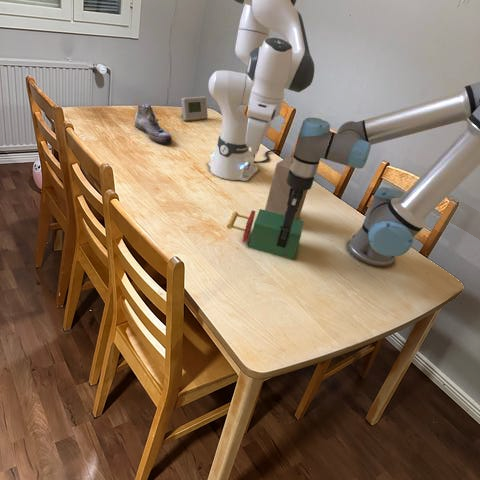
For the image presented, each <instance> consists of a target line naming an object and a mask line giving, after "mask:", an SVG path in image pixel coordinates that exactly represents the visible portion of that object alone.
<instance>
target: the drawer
mask: <svg viewBox="0 0 480 480" xmlns="http://www.w3.org/2000/svg"><path fill="white" fill-rule="evenodd" d="M255 215H256V211H255V210H251V211H250V214H249V216H246V215H242V214H239V213H238V211H233V212H232V214H231V215H230V219H229V220H228V222H227V224H226V228H227V229H228V230H231V229H235V230H238V231H242V232H244V233H243V237H242V243H247V241H248V239H249V237H250V234H251V231H252V229H253V228H252V227H253V225H254V221H255ZM238 217H239V218H242V219H246V220H247V221H246V223H245V227H244V228H243V227H240V226H236V225H234V224H235V223H236V220H237V218H238Z"/></svg>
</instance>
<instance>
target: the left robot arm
mask: <svg viewBox="0 0 480 480" xmlns="http://www.w3.org/2000/svg"><path fill="white" fill-rule="evenodd" d="M234 2H236V3H238V4H241V5H243V4H244V5H243V10H242V12H241V16H240V18H239V24H238V30H237V35H236V41H235V47H234V53H235V55H236V57H237V58H238V60H240V61H241V62H242V63H243V64H244V65H246V71H245V73H243V72H238V71H235V70H234V71H233V70H230V69H229V70H226V69H224V70H223V69H221V70H215V71H214V72H213V73H212V74H211V75H210V77H209V80H208V85H207V86H208V92H209V94H210V96H211V97H212V98H213V100H215V102H216V104H217V105H218V107H219V109H220V113H221V127H220V135H219V136H218V139H217V145H216V146H215V147H214V149H213V153H212V154H210V158H211V160H209V161H208V164H207V165H208V166H209V170H210V172H211V173H212V174H213V175H215V176H216V177H218V178H220V179H225V180H229V181H242V182H247V181H249V179H251V177H253V176H254V175H255V174H256V173H257V172H258V171H259V166H257V165H255V164H258V163H261V164H263V163H266V162H268V161H269V159H270V157H269V155H268V154H269V153H271V152H278V153H279V154H281V153H282V152H281V150H279V149H276V148H275V149H270V150H267V151H265V157H266V159H263V160H260V161H255V159H256V156H257V154H258V152H260V151H259V150H260V146H261V145H262V143H263V142H264V141H263V140H264V139H265V137H266V135H267V133H268V131H269V130H270V127H271V125H272V124H271V123H272V121H274V119H275V118H276V117H278V116H280V114H281V111H282V105H283V102H284V99H285V89H286V90H288V91H292V92H295V93H301V92H302V91H305V90H306V89H307V88H308V87H310V86H311V85H312V84H313V80H314V78H315V77H314V76H315V62H314V59H313V57H312V55H311V52H310V47H309V43H308V38H307V35H306V28H305V24H304V21H303V17H302V15H301V13H300V11H298V10H297V9H296V7H295V5H296V4H297V2H298V0H234ZM271 31H273V32H275V33H278V34H280V35H281V36H282V37H284V38H285V39H286V40H287V41H286V40H284V39H282V38H279V37H270V33H271ZM239 106H246V107H247V111H246V114H245V113H243V112H242V111H241V110H240V109H239ZM250 148H251V149H250Z"/></svg>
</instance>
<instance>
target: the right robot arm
mask: <svg viewBox="0 0 480 480" xmlns="http://www.w3.org/2000/svg"><path fill="white" fill-rule="evenodd" d="M464 121H465V122H466V129H464V131H463V132H461V134H460V135H459V136H458V137H457V138H456V139H455V140H454V141H453V142H452V143H451V144H450V145H449V147H447V149H446V150H444V152H443V153H442V154H441V155H440V156H439V157H438V158H437V159H436V160H434V162H433V163H432V164H431V165H430V166H429V167H428V169H426V170H425V172H424V173H423V174H422V175H421V176H420V177H419V178H418V179H417V180H416V181H415V182H414V183H413V184H412V185H411V186H410V187H409V188H408V189H407V190H406V192H404V191H402V190H399V189H396V188H392V187H387V186H386V187H385V186H382V187H379V188H377V189H376V190H375V193H374V194H373V197H372V201H371V203H370V205H369V208H368V210H367V213H366V215H365V218H364V220H363V222H362V226H361V227H360V228H359V229H358V231H357V232H356V233H355V234H353V235H352V237H351V238H350V240H349V243H348V245H347V246H348V250H349V252H350V253H351V255H352V256H353V257H355V258H356V259H357V260H359V261H361V262H362V263H365V264H367V265H370V266H373V267H379V268H384V267H389V266H391V265H392V264H393V263H394V262H395V261H394V260H395V259H396V257H400V256H403V255H405V254H406V253H407V252H409V250H410V249H411V248H412V246H413V243H414V238H415V237H416V235H418V234H419V233H420V232H421V231H422V230H423V229H424V228H425V227H426V218H427V217H428V216H429V215H430V214H432V212H433V211H434V210H435V209H436V208H437V207H438V206H440V205H441V203H443V201H444V200H446V199H447V198H448V197H449V196H450V195H451V194H452V193H453V192H454V191H456V190H457V188H458V187H459V186H460V185H461V184H462V183H464V182H465V180H466V179H467V178H468V177H470V175H472V174H473V172H474V171H475V170H477V169H478V168H479V166H480V81H478V82H475V83H472V84H468V85H465V86H462V87H461V89H460V90H459V91H458V92H455V93H452V94H448V95H445V96H442V97H437V98H434V99H431V100H428V101H425V102H421V103H418V104H414V105H411V106H407V107H404V108H401V109H397V110H393V111H390V112H386V113H383V114H379V115H376V116H373V117H369V118H366V119H363V120H359V121H354V120H349V121H346V122H344V123H342V124H341V125H340V127H339V128H338V129H337V132H334V131H333V130H332V131H331V124H330V122H328V121H326V120H324V119H322V118H318V117H307V118H305V119H304V120H303V121H302V124H301V127H300V129H299V133H298V136H297V140H296V144H295V148H294V151H293V156H292V158H293V159H290V162H292V163H291V166H290V170H289V173H288V176H287V180H286V182H287V184H288V185H289V186H290V187H292V188H291V189H290V192H289V199H288V202H287V206H288V207H287V211H286V213H285V219H284V223H283V226H280V228H281V232H280V235H279V238H278V242H277V246H279V247H283V248H285V247H286V244H287V240H288V237H289V234H290V231H291V226H292V223H293V219H294V216H295V212H297V208H298V207H299V203H300V200H301V199H302V196H303V190H305V191H306V190H308V191H310V190H312V187H313V183H314V180H315V176H316V175H317V171H318V168H319V164H320V162H321V161H320V160H321V159H323V160H326V161H329V162H333V163H337V164H339V165H343V166H347V167H348V168H353V169H354V168H355V169H363V168H364V167H365V166H366V164H367V162H368V158H369V155H370V152H371V149H372V146H373V145H376V144H380V143H384V142H388V141H392V140H396V139H399V138H403V137H407V136H411V135H414V134H418V133H422V132H426V131H429V130H432V129H437V128H440V127H444V126H448V125H452V124H457V123H460V122H464Z"/></svg>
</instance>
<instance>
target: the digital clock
mask: <svg viewBox="0 0 480 480" xmlns="http://www.w3.org/2000/svg"><path fill="white" fill-rule="evenodd" d="M207 101H208V100H207V97H206V95H205V96H204V95H203V96H199V95H198V96H197V95H196V96H187V97H182V98H181V99H180V103H181V117H182V120H183V121H189V122H191V121H199V120H204V119H207V118H208V115H209V114H208V103H207Z"/></svg>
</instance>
